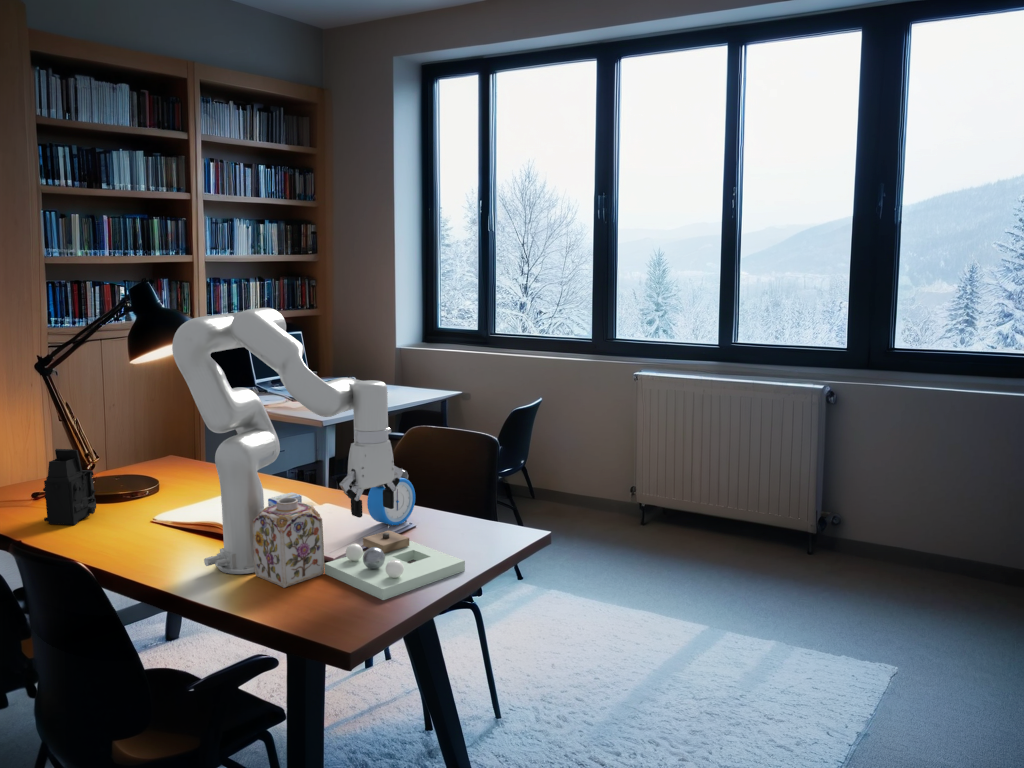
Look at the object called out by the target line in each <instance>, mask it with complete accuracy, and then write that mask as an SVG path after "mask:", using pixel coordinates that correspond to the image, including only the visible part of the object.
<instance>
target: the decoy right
mask: <svg viewBox="0 0 1024 768" xmlns="http://www.w3.org/2000/svg"><path fill="white" fill-rule="evenodd" d="M403 571H404V566H403V564H402V563H401V562H400V561H399V560H391V561H389V562H388V563H387V565H386V573H387V575H388V576H389V577H391V578H398V577H400V576H401V575H402V573H403Z"/></svg>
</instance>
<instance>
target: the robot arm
mask: <svg viewBox="0 0 1024 768" xmlns="http://www.w3.org/2000/svg"><path fill="white" fill-rule="evenodd" d="M171 345H172V346H171V347H172V349H171V350H172V356H173V359H174V362H175V364H176V366H177V367H178V368H177V369H178V370H179V371H180V373H181V375H182V377H183V378H184V381H185V382H186V384H187V387H188V388H189V391H190V393H191V395H192V396H191V397H192V398H193V401H194V403H195V405H196V407H197V410H198V411H199V414H200V415H201V418H202V420H203V422H204V424H205V425H206V427H207V428H208V430H210V431H211V432H213V433H215V434H224V433H228V432H231V431H234V430H235V431H236V435H235V434H234V435H233V436H230V437H228V438H226V439H224V440H223V441H222V442H221V443H220V444H219V445H218V447H217V449H216V451H215V454H214V455H215V456H214V463H215V464H214V465H215V468H216V471H217V475H218V479H219V487H220V498H221V499H220V500H221V501H220V502H221V515H222V516H221V518H222V534H223V535H222V536H223V548H219V552H218V553H217V554H216V555H214V556H213V555H212V556H209V557H205V558H204V559H203V561H204V562H203V563H204V565H205V566H206V567H209V566H212V565H215V567H217V568H218V570H219V571H220V572H222V573H225V574H230V575H245V574H246V575H247V574H253V573H255V565H254V543H253V520H254V519H255V518H256V517H257V516H258V514H259V513H260V512H261V511H263V510H264V509H265V498H264V487H263V484H262V482H261V479H260V477H259V473H258V471H259V470H260V469H263V468H265V467H267V466H269V465H271V464H272V463H274V462H275V461H276V460H277V458H278V457H279V454H280V450H281V447H280V446H281V445H280V444H281V443H280V441H279V437H278V434H277V432H276V430H275V427H274V425H273V423H272V421H271V418H270V416H269V414H268V412H267V409H266V407H265V406H264V403H263V402H262V400H261V398H260V397H259V396H258V394H257V393H256V392H254V391H253V390H251V389H250V388H247V387H233V388H232V387H231V385H230V383H229V381H228V379H227V376H226V374H225V371H224V370H223V369H222V367H221V366H220V365H219V364H218V363H217V362H216V360H215V359H213V358H212V357H211V354H212V353H215V352H216V353H217V352H222V351H226V350H233V349H238V348H245V349H246V350H248V351H249V352H250V354H251V353H252V354H253V355H254V356H255V357H257V358H258V359H259V360H260V361H262V362H263V363H264V364H266V366H268V367H270V368H271V369H272V370H274V371H275V372H276V374H278V376H279V379H280V382H281V383H282V385H283V386H284V388H285V390H286V391H287V392H288V393H289V395H290V396H291V397H292V399H295V400H296V402H298V403H299V404H301V405H302V406H303V407H304V408H306V409H307V410H309V411H310V412H312V413H313V414H315V415H316V416H320V417H323V418H330V417H334V416H337V415H339V414H341V413H346V412H348V411H351V410H352V411H353V439H354V440H353V442H352V443H350V448H349V452H348V460H347V475H346V476H345V477H344V478H343V479H342V481H340V482H339V487H340V488H341V490H342V491H343V494H345V495H346V496H347V497H348V499H350V512H351V515H352V516H353V517H356V518H362V517H363V500H362V499H361V496H362V495H363V493H364V491H365V490H367V489H368V490H369V489H371V488H372V487H376V486H380V485H383V486H384V488H385V489H384V490H383V506H384V507H386V508H389V509H393V508H394V491H396V486H397V485H398V483H399V482H400V478H401V476H402V474H403V470H404V469H403V470H401V468H400V467H398V466H396V465H395V463H394V453H393V452H394V451H393V447H392V443H391V440H390V439H389V434H391V433H392V429H391V428H390V427H389V415H388V414H389V409H388V408H389V405H388V404H389V403H388V386H387V384H386V383H385V382H384V381H381V380H371V379H370V380H369V379H368V380H360V379H357V378H351V377H338V378H335V379H332V380H327V381H325V380H323V379H322V378H320V377H319V376H318V375H317V374H315V373H314V372H313V371H312V370H311V369H309V367H308V366H307V365H306V363H305V362H304V360H303V355H304V352H305V347H304V345H303V344H302V342H300V341H299V340H298V339H296V338H295V337H294V336H293V335H291V334H289V333H288V332H287V323H286V319H285V318H284V316H283V315H282V314H281V312H279V311H277V310H276V309H274V308H272V307H260V308H259V307H257V308H249V309H246V310H245V309H244V310H243V311H238V312H230V313H221V314H214V315H205V316H198V317H194V318H191V319H189V320H187V321H184V323H182V324H181V325H180V326H179V327H178V328H177V330H176V332H175V333H174V335H173V339H172V344H171ZM399 468H400V469H399ZM350 486H351V487H350Z"/></svg>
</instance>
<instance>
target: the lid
mask: <svg viewBox="0 0 1024 768" xmlns="http://www.w3.org/2000/svg"><path fill="white" fill-rule="evenodd" d="M409 540H410V537H408V536H405V535H403V534H401V533H397V532H394V531H392V530H385V531H382V532H378V533H376V534H371V535H369V536H365V537H363V538H362V546H363V547H366V548H367V549H369V548H371V547H377V548H380V549H381V550H382V551H383V552H384V553H387V552H390V551H394V550H397V549H400V548H403V547H406V546H409Z"/></svg>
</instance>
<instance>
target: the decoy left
mask: <svg viewBox="0 0 1024 768" xmlns="http://www.w3.org/2000/svg"><path fill="white" fill-rule="evenodd" d="M363 551H364V550H363V547H362V546H361V545H360V544H358V543H352V544H351V543H350V544H349V545H348V546H347V547H346V549H345V557H347V558H348V559H349V560H351V561H357V560H359V559H360V558H361V557H362V555H363Z"/></svg>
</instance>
